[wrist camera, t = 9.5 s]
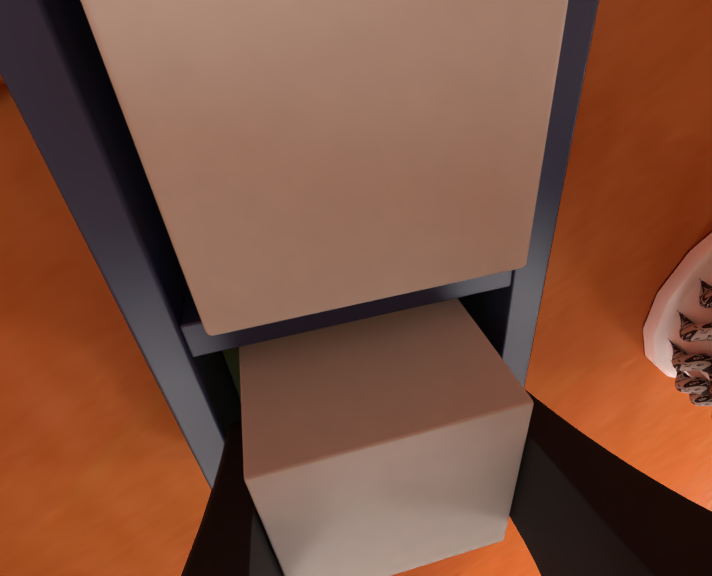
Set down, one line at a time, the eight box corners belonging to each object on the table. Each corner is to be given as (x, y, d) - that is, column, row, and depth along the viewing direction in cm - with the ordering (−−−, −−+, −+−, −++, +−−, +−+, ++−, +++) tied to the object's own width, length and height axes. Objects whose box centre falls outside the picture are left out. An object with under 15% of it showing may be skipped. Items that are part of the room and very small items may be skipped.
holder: (515, -239, 7) (670, -357, 5) (464, 399, 16) (507, 475, 14) (-37, -216, 6) (-223, -359, 3) (239, 458, 15) (242, 552, 12)
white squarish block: (444, 278, 11) (535, 402, 8) (439, 411, 14) (504, 540, 11) (237, 323, 10) (243, 480, 7) (279, 452, 13) (296, 606, 10)
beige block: (437, -109, 7) (602, -182, 4) (433, 179, 10) (528, 269, 7) (121, -82, 7) (21, -145, 3) (213, 219, 10) (206, 340, 6)
